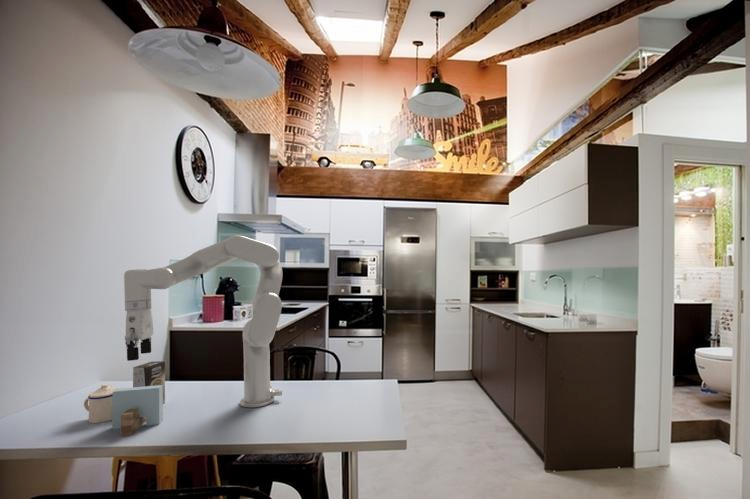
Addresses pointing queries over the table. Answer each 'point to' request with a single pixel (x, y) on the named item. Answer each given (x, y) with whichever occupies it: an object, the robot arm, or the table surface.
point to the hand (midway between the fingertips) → (139, 356)
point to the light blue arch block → (138, 404)
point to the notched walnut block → (131, 421)
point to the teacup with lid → (100, 404)
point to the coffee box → (150, 375)
